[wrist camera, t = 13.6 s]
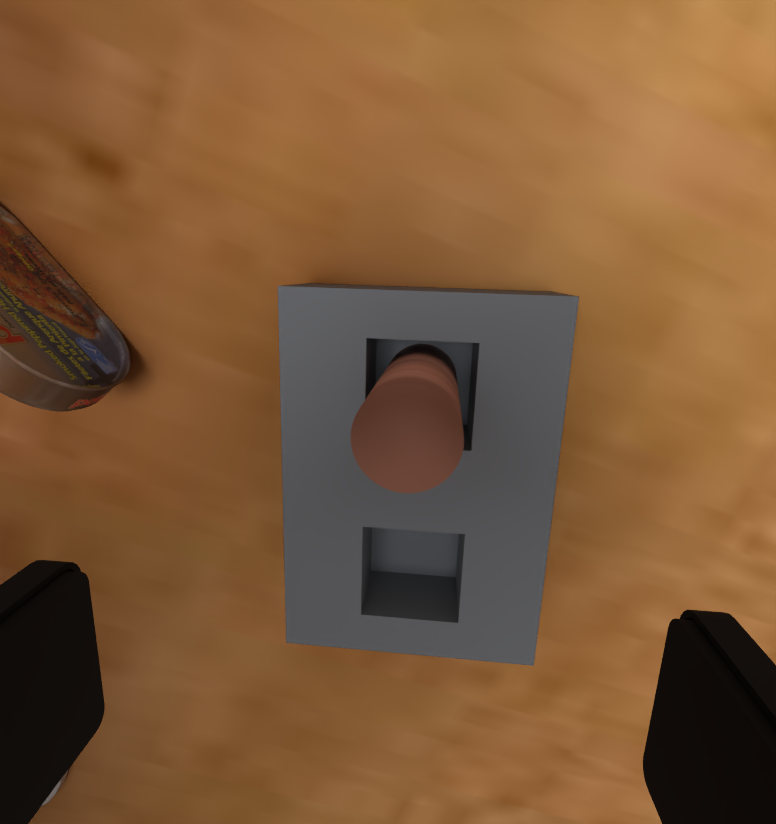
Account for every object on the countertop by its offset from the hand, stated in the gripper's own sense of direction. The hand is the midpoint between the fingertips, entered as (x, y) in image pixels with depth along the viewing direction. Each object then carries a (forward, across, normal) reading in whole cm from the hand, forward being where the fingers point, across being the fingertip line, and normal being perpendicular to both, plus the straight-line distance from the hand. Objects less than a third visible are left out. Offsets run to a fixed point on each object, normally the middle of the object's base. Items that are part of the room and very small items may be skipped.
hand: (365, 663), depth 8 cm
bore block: (+24, 0, +5) cm, 25 cm away
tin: (+25, +23, -4) cm, 34 cm away
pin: (+22, 0, 0) cm, 23 cm away
